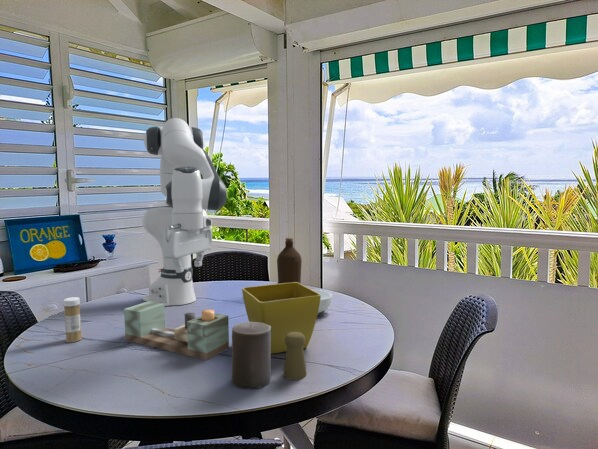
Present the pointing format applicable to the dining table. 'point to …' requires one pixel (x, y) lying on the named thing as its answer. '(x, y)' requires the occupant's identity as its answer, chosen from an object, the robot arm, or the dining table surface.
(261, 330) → the pillar candle
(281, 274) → the olive oil
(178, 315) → the dining table surface
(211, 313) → the plunger
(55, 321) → the dining table surface
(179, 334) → the carriage
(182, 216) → the robot arm
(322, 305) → the cereal bowl
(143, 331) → the rail bed
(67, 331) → the sprinkles bottle
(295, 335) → the game pawn
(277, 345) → the flower pot
